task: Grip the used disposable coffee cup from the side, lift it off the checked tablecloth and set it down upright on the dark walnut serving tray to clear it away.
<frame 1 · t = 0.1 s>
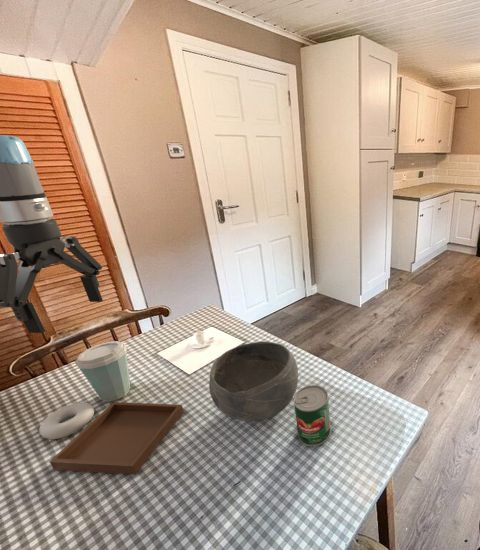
hand: (69, 315, 68), 30 cm above the table, tool pointing down, fingers open, 13 cm apart
tray: (125, 438, 72), on the table
canned tomato: (314, 432, 73), on the table
bowl: (261, 407, 81), on the table
disposable coffee cup: (117, 393, 86), on the table
donut: (70, 425, 76), on the table
white rounded piece: (201, 348, 106), on the table
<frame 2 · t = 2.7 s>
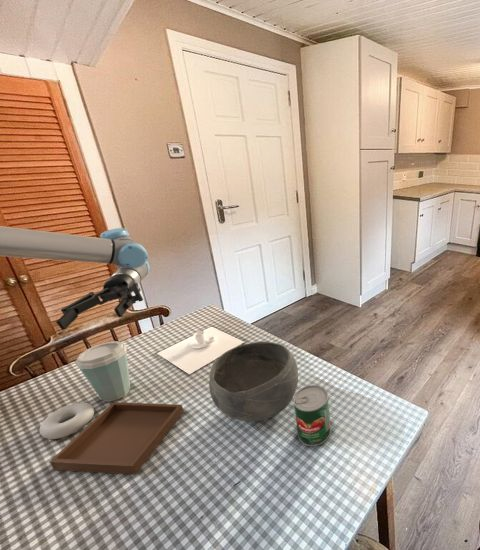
hand: (89, 319, 82), 22 cm above the table, tool horizontal, fingers open, 13 cm apart
nothing on the table moved.
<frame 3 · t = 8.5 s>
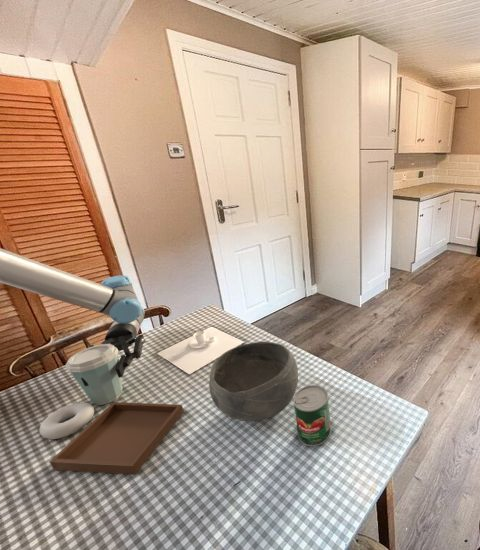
hand: (102, 377, 78), 9 cm above the table, tool horizontal, fingers open, 6 cm apart
disposable coffee cup: (109, 396, 85), on the table, touching gripper
everything else where it was.
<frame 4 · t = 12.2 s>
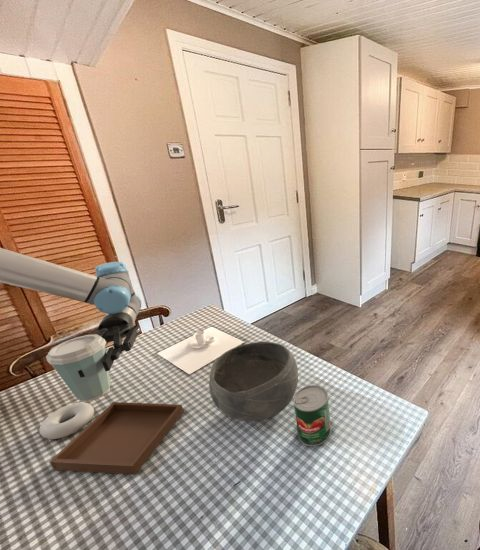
hand: (93, 369, 71), 16 cm above the table, tool horizontal
disposable coffee cup: (96, 392, 77), point 6 cm above the table, touching gripper, hand
everything else where it was.
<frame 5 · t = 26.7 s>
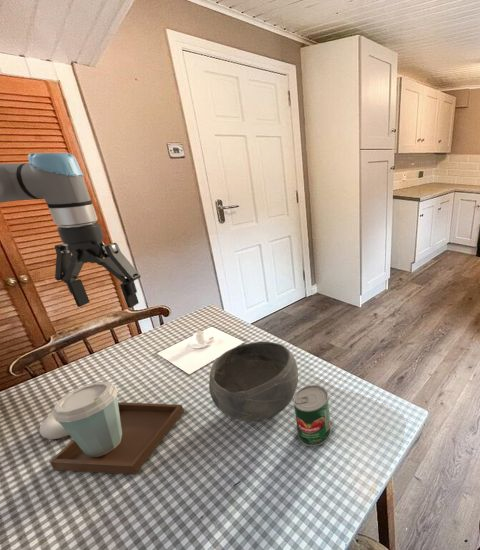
hand: (108, 305, 78), 27 cm above the table, tool pointing down, fingers open, 13 cm apart
disposable coffee cup: (106, 444, 70), resting on tray
everything else where it was.
at the end: disposable coffee cup inside the target area in the tray (3.4 cm from its centre), point 0.4 cm above the tray's base; disposable coffee cup tilted 0°; the gripper is holding nothing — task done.
